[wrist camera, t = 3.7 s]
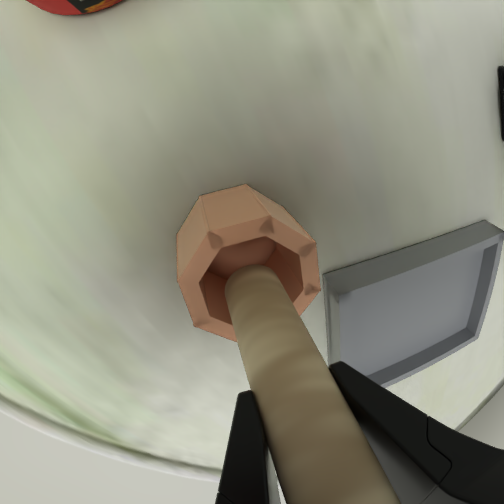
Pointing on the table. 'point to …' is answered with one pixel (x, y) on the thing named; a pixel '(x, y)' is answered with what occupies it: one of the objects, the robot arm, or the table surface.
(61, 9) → the canned food
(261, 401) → the dowel pin
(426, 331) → the tray
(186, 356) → the table surface
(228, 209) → the cup
